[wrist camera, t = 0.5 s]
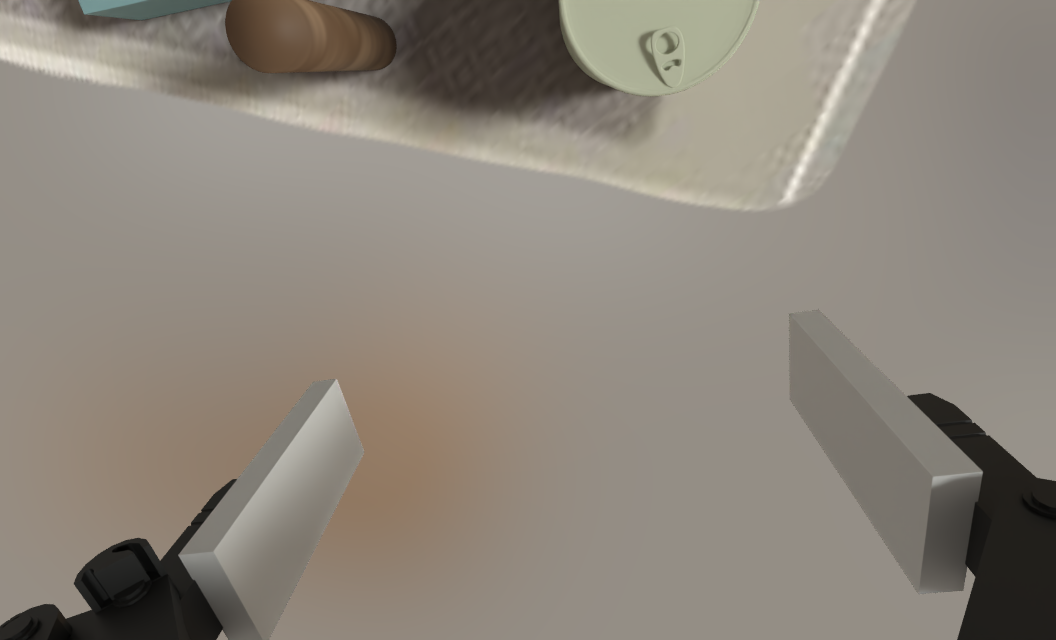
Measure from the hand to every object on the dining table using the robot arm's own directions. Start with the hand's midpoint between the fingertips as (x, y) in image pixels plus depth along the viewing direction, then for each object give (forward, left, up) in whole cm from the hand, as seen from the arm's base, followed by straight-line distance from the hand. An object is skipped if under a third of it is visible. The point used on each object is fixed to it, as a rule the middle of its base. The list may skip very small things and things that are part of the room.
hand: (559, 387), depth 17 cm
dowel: (-12, -11, -27) cm, 31 cm away
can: (-11, +6, -27) cm, 30 cm away
